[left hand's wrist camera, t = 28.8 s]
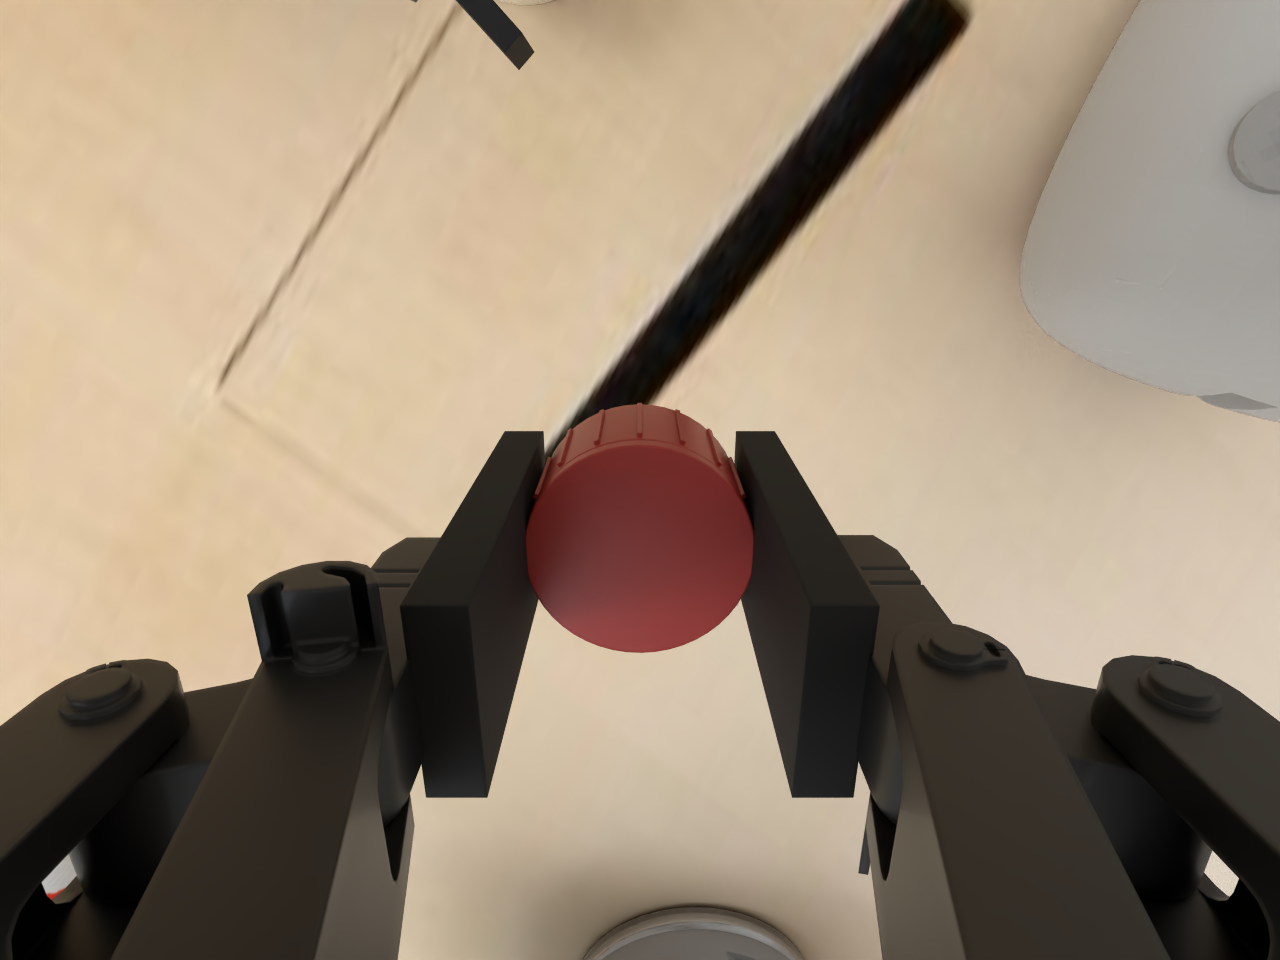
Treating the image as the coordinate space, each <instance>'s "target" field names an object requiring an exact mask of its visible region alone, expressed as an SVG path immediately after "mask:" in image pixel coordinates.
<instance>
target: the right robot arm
mask: <svg viewBox="0 0 1280 960" xmlns="http://www.w3.org/2000/svg"><path fill="white" fill-rule="evenodd" d="M412 1H414V2H417V1H418V0H412ZM456 1H457V2H458V3H459V4H460V5H461V7H462V8H463V9H464V10H465V11H466V12H467V13H468V14H469V15H470V16H471V18H472V19H473V20H474V21H475V22H476V23H477V24H478V25H479V26H480V28H481V29H482V30H483V31H484V32H485V33H486V34H487V35H488V36H489V37H490V39H491V40H492V41H493V42H494V43H495V44H496V45H497V46H498V47H499V49H500V50H501V51H502V52H503V53H504V54H505V55H506V56H507V57H508V58H509V60H510V61H511V62H512V63H513V64H514V65H515V66H516V67H517V68H518V70H520V68H521V67H522V66H523V65H524V64H525V63H526V61H527V60H528V59H529V58H530V57H531V55H532V54H533V53H534V51H533V49H532V48H531V46H530V44H529V43H528V41H527V40H526V38H525V37H524V35H523V34H522V32H521V31H520V30H519V29H518V28H517V27H516V25H515V24H514V23H513V22H512V21H511V20H510V19H509V18H508V16H507V15H506V14H505V13H504V12H503V11H502V10H501V9H500V7H499V6H498V5H497V4H496V3H495V2H494V1H493V0H456Z"/></svg>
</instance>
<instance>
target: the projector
mask: <svg viewBox="0 0 1280 960" xmlns="http://www.w3.org/2000/svg"><path fill="white" fill-rule="evenodd" d="M1020 289H1021V294H1022V298H1023V301H1024V303H1025V306H1026V308H1027V310H1028V312H1029V313H1030V315H1031V316H1032V318H1033V319H1034V321H1035V322H1036V323H1037V325H1038V326H1039V327H1040V328H1041V329H1042V330H1043V331H1044V332H1045V333H1047V334H1048V335H1049V336H1050V337H1052V338H1053V339H1054V340H1055V341H1057V342H1058V343H1060V344H1061V345H1063V346H1064V347H1066V348H1067V349H1069V350H1070V351H1072V352H1074V353H1076V354H1078V355H1079V356H1081V357H1083V358H1085V359H1086V360H1089V361H1091V362H1093V363H1095V364H1097V365H1099V366H1101V367H1103V368H1106V369H1108V370H1110V371H1113V372H1115V373H1117V374H1120V375H1123V376H1125V377H1128V378H1131V379H1133V380H1136V381H1139V382H1142V383H1144V384H1147V385H1150V386H1153V387H1156V388H1159V389H1162V390H1166V391H1169V392H1172V393H1176V394H1181V395H1190V396H1197V397H1198V398H1200V399H1201V400H1203V401H1205V402H1207V403H1209V404H1211V405H1214V406H1217V407H1220V408H1224V409H1227V410H1231V411H1234V412H1238V413H1242V414H1246V415H1250V416H1253V417H1257V418H1261V419H1266V420H1271V421H1276V422H1280V0H1140V2H1139V4H1138V5H1137V7H1136V9H1135V10H1134V12H1133V14H1132V15H1131V17H1130V19H1129V20H1128V22H1127V24H1126V26H1125V27H1124V29H1123V31H1122V33H1121V35H1120V37H1119V38H1118V40H1117V42H1116V44H1115V46H1114V48H1113V49H1112V51H1111V53H1110V55H1109V57H1108V59H1107V60H1106V62H1105V64H1104V66H1103V68H1102V70H1101V71H1100V73H1099V75H1098V77H1097V79H1096V81H1095V83H1094V85H1093V87H1092V89H1091V91H1090V93H1089V94H1088V96H1087V98H1086V100H1085V102H1084V104H1083V106H1082V108H1081V110H1080V112H1079V114H1078V116H1077V118H1076V120H1075V122H1074V124H1073V126H1072V128H1071V130H1070V132H1069V135H1068V137H1067V139H1066V141H1065V143H1064V145H1063V147H1062V149H1061V151H1060V154H1059V156H1058V158H1057V160H1056V162H1055V164H1054V166H1053V169H1052V171H1051V173H1050V176H1049V178H1048V180H1047V183H1046V185H1045V187H1044V190H1043V192H1042V194H1041V197H1040V199H1039V202H1038V205H1037V208H1036V210H1035V213H1034V216H1033V218H1032V221H1031V224H1030V227H1029V230H1028V234H1027V237H1026V241H1025V244H1024V248H1023V252H1022V258H1021V264H1020Z"/></svg>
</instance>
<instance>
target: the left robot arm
mask: <svg viewBox="0 0 1280 960" xmlns="http://www.w3.org/2000/svg"><path fill="white" fill-rule="evenodd" d="M734 465H735V468H736V470H737V473H738V476H739V479H740V481H741V484H742V487H743V490H744V492H745V495H746V498H744V502H745V505H746V508H747V510H748V513H749V516H750V519H751V522H752V525H753V531H754V541H753V558H752V572H751V578H750V581H749V583H748V586H747V588H746V590H745V592H744V594H743V596H742V597H741V601H742V605H743V609H744V612H745V616H746V620H747V624H748V628H749V632H750V636H751V640H752V643H753V647H754V651H755V655H756V659H757V663H758V667H759V671H760V674H761V678H762V682H763V686H764V690H765V694H766V698H767V702H768V706H769V709H770V713H771V717H772V721H773V725H774V729H775V733H776V737H777V740H778V744H779V748H780V752H781V756H782V760H783V764H784V768H785V771H786V775H787V779H788V783H789V787H790V791H791V795H792V798H853V796H854V789H855V782H856V775H857V767H858V761H859V764H860V766H861V769H862V771H863V774H864V776H865V779H866V781H867V784H868V786H869V789H870V798H869V805H868V812H867V818H866V825H865V832H864V838H863V845H862V852H861V858H860V866H859V873H861V874H867V875H868V873H869V867H870V863H871V871H872V879H873V887H874V895H875V903H876V911H877V919H878V927H879V935H880V942H881V950H882V958H883V960H1280V722H1279V721H1278V720H1277V719H1275V718H1274V717H1273V716H1271V715H1270V714H1269V713H1267V712H1266V711H1265V710H1263V709H1262V708H1261V707H1260V706H1258V705H1257V704H1256V703H1254V702H1253V701H1252V700H1250V699H1249V698H1248V697H1246V696H1245V695H1244V694H1242V693H1241V692H1240V691H1238V690H1237V689H1235V688H1233V687H1232V686H1230V685H1228V684H1227V683H1225V682H1223V681H1222V680H1220V679H1219V678H1217V677H1215V676H1213V675H1211V674H1208V673H1206V672H1203V671H1201V670H1198V669H1196V668H1195V667H1193V666H1192V665H1189V664H1187V663H1183V662H1180V661H1176V660H1174V661H1171V659H1167V658H1162V657H1147V656H1134V655H1131V656H1126V657H1120V658H1114V659H1112V660H1111V661H1110V662H1108V663H1107V664H1106V665H1105V666H1104V667H1103V668H1102V672H1101V675H1100V679H1099V682H1098V686H1097V689H1091V688H1086V687H1081V686H1076V685H1070V684H1065V683H1060V682H1054V681H1049V680H1044V679H1040V678H1036V677H1032V676H1028V675H1025V673H1024V671H1023V669H1022V667H1021V665H1020V663H1019V661H1018V659H1017V658H1016V657H1015V656H1014V655H1013V654H1012V652H1011V651H1010V650H1009V649H1008V648H1007V647H1006V646H1005V645H1003V644H1002V643H1000V642H999V641H997V640H995V639H994V638H992V637H991V636H989V635H987V634H985V633H982V632H979V631H977V630H974V629H972V628H969V627H966V626H962V625H956V624H952V622H951V621H950V620H949V618H948V617H947V616H946V614H945V613H944V612H943V610H942V609H941V608H940V606H939V605H938V604H937V602H936V601H935V600H934V598H933V597H932V596H931V594H930V593H929V592H928V590H927V589H926V588H925V586H924V585H921V581H920V580H919V578H918V577H917V576H916V574H915V573H914V572H913V570H910V566H909V565H908V564H907V562H906V561H905V560H904V558H903V557H902V556H901V554H900V553H899V552H898V550H897V549H895V548H893V547H892V546H890V545H888V544H887V543H885V542H883V541H882V540H880V539H878V538H877V537H875V536H874V535H837V534H836V532H835V531H834V529H833V527H832V526H831V524H830V522H829V521H828V519H827V517H826V516H825V514H824V512H823V511H822V509H821V507H820V506H819V504H818V502H817V501H816V499H815V497H814V496H813V494H812V493H811V491H810V489H809V488H808V486H807V484H806V483H805V481H804V479H803V478H802V476H801V474H800V473H799V471H798V469H797V468H796V466H795V464H794V463H793V461H792V459H791V458H790V456H789V454H788V453H787V451H786V449H785V448H784V446H783V444H782V443H781V441H780V439H779V438H778V436H777V434H776V433H775V431H736V444H735V464H734ZM544 466H545V453H544V433H543V431H505V432H504V434H503V435H502V437H501V439H500V440H499V442H498V444H497V445H496V447H495V449H494V450H493V452H492V453H491V455H490V457H489V458H488V460H487V462H486V463H485V465H484V467H483V468H482V470H481V472H480V473H479V475H478V477H477V478H476V480H475V482H474V483H473V485H472V487H471V488H470V490H469V492H468V493H467V495H466V497H465V498H464V500H463V502H462V503H461V505H460V507H459V508H458V510H457V512H456V513H455V515H454V517H453V518H452V520H451V522H450V523H449V525H448V527H447V528H446V530H445V532H444V533H443V535H442V537H441V538H405V539H404V540H402V541H400V542H399V543H397V544H395V545H394V546H392V547H391V548H389V549H387V550H386V551H384V552H383V553H382V554H381V555H380V557H379V558H378V559H377V561H376V562H375V563H374V565H373V566H372V567H371V568H370V567H368V566H367V565H364V564H359V563H355V562H351V561H324V562H318V563H312V564H306V565H301V566H298V567H295V568H292V569H289V570H286V571H282V572H279V573H277V574H275V575H274V576H272V577H270V578H268V579H266V580H264V581H262V582H261V583H259V584H258V585H257V586H256V587H255V588H254V589H253V590H252V591H251V592H250V593H249V594H248V595H247V597H248V601H249V606H250V610H251V615H252V619H253V623H254V628H255V632H256V637H257V641H258V646H259V650H260V654H261V659H262V662H261V664H260V666H259V668H258V670H257V672H256V674H255V676H254V678H253V679H249V680H245V681H241V682H237V683H232V684H227V685H221V686H216V687H211V688H206V689H200V690H195V691H190V692H185V693H184V692H183V688H182V685H181V681H180V677H179V674H178V671H177V670H176V669H175V668H174V667H173V666H171V665H170V664H169V663H168V662H164V661H158V660H152V659H139V660H121V661H116V662H110V663H109V664H108V665H106V664H103V665H99V666H96V667H93V668H90V669H88V670H87V671H86V672H83V673H81V674H79V675H76V676H74V677H71V678H69V679H67V680H65V681H63V682H61V683H60V684H58V685H56V686H55V687H53V688H52V689H50V690H48V691H47V692H45V693H43V694H42V695H40V696H39V697H38V698H36V699H35V700H34V701H33V702H31V703H30V704H29V705H27V706H26V707H25V708H23V709H22V710H21V711H19V712H18V713H17V714H16V715H14V716H13V717H12V718H10V719H9V720H8V721H6V722H5V723H4V724H3V725H1V726H0V960H398V952H399V944H400V936H401V928H402V920H403V912H404V905H405V897H406V889H407V881H408V873H409V865H410V857H411V849H412V841H413V833H414V819H413V812H412V805H411V798H410V792H411V789H412V786H413V784H414V781H415V779H416V776H417V774H418V771H419V769H420V766H421V764H422V771H423V778H424V785H425V793H426V798H487V797H488V793H489V789H490V785H491V781H492V777H493V773H494V770H495V766H496V762H497V758H498V754H499V750H500V746H501V742H502V739H503V735H504V731H505V727H506V723H507V719H508V715H509V711H510V708H511V704H512V700H513V696H514V692H515V688H516V684H517V680H518V677H519V673H520V669H521V665H522V661H523V657H524V653H525V649H526V646H527V642H528V638H529V634H530V630H531V626H532V622H533V618H534V615H535V611H536V607H537V603H538V597H537V595H536V594H535V591H534V589H533V587H532V585H531V583H530V580H529V576H528V565H527V549H526V527H527V524H528V520H529V517H530V514H531V511H532V508H533V505H534V503H535V500H536V499H535V498H533V496H534V493H535V490H536V488H537V485H538V482H539V480H540V477H541V474H542V472H543V469H544ZM1212 850H1213V851H1214V852H1215V853H1216V854H1217V855H1218V857H1219V858H1220V859H1221V860H1222V861H1223V862H1224V863H1225V864H1226V865H1227V866H1228V867H1229V868H1230V869H1231V870H1232V871H1233V872H1234V873H1235V874H1236V876H1237V877H1238V878H1239V880H1238V883H1237V885H1236V888H1235V890H1234V893H1233V894H1232V895H1231V896H1230V897H1229V896H1227V895H1226V894H1225V893H1224V892H1222V891H1221V890H1220V889H1219V888H1218V887H1217V886H1216V885H1215V884H1214V883H1213V882H1212V881H1211V880H1210V879H1209V878H1208V877H1207V875H1206V874H1205V873H1204V871H1205V868H1206V865H1207V863H1208V860H1209V858H1210V855H1211V852H1212ZM68 854H69V857H70V859H71V862H72V865H73V867H74V870H75V872H76V875H77V876H76V877H75V878H74V879H73V880H72V881H71V882H70V884H69V885H68V886H67V887H66V888H65V889H64V890H63V891H62V892H60V893H59V894H58V895H56V896H55V897H54V898H53V899H50V898H49V897H48V896H47V894H46V892H45V889H44V887H43V884H42V882H43V881H44V879H45V878H46V877H47V876H48V875H49V874H50V873H51V872H52V871H53V870H54V869H55V868H56V867H57V866H58V865H59V864H60V862H61V861H62V860H63V859H64V858H65V857H66V856H67V855H68ZM583 960H804V959H803V957H802V955H801V954H800V952H799V951H798V949H797V948H796V947H795V946H794V945H793V943H792V942H791V941H790V940H789V939H788V938H786V937H785V936H784V935H783V934H782V933H780V932H779V931H778V930H776V929H775V928H773V927H771V926H770V925H768V924H766V923H764V922H762V921H760V920H758V919H756V918H753V917H750V916H748V915H745V914H741V913H738V912H734V911H729V910H725V909H718V908H707V907H684V908H673V909H667V910H661V911H657V912H652V913H649V914H646V915H643V916H640V917H637V918H635V919H632V920H630V921H628V922H626V923H624V924H622V925H620V926H618V927H616V928H615V929H613V930H611V931H610V932H609V933H607V934H606V935H604V936H603V937H602V938H601V939H600V940H599V941H598V942H596V943H595V944H594V946H593V947H592V948H591V949H590V950H589V951H588V953H587V954H586V955H585V957H584V958H583Z"/></svg>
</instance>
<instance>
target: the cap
mask: <svg viewBox="0 0 1280 960" xmlns="http://www.w3.org/2000/svg"><path fill="white" fill-rule="evenodd" d="M533 498H535V499H536V500H535V503H534V505H533V508H532V511H531V514H530V517H529V520H528V524H527V527H526V549H527V565H528V576H529V580H530V583H531V585H532V587H533V589H534V591H535V594H536V595H537V597H538V599H539V600H540V602H541V603H542V605H543V606H544V608H545V609H546V610H547V611H548V612H549V613H550V615H551V616H552V617H553V618H554V619H555V620H556V621H557V622H559V623H560V624H561V625H562V626H563V627H564V628H566V629H567V630H569V631H570V632H572V633H573V634H574V635H576V636H578V637H580V638H582V639H584V640H586V641H588V642H590V643H593V644H595V645H598V646H601V647H604V648H608V649H612V650H617V651H623V652H637V653H644V652H657V651H662V650H668V649H672V648H675V647H678V646H682V645H684V644H687V643H689V642H691V641H694V640H696V639H698V638H699V637H701V636H703V635H705V634H706V633H708V632H709V631H711V630H712V629H713V628H715V627H716V626H717V625H719V624H720V623H721V622H722V621H723V620H724V619H725V618H726V617H727V616H728V615H729V614H730V613H731V612H732V610H733V609H734V608H735V607H736V605H737V604H738V602H739V601H740V599H741V597H742V596H743V594H744V592H745V590H746V588H747V586H748V583H749V581H750V578H751V572H752V558H753V541H754V531H753V525H752V522H751V519H750V516H749V513H748V510H747V508H746V505H745V502H744V498H746V495H745V492H744V490H743V487H742V484H741V481H740V479H739V476H738V473H737V470H736V468H735V465H734V462H733V460H732V458H731V457H730V458H728V456H727V454H726V452H725V451H724V449H723V448H722V446H721V445H720V443H719V442H718V441H717V440H716V438H715V437H714V436H713V434H712V431H711V430H710V429H709V428H708V429H705V428H704V427H703V426H702V425H701V424H699V423H698V422H696V421H695V420H693V419H691V418H690V417H688V416H686V415H684V414H682V413H680V411H679V410H677V409H676V410H675V411H674V410H671V409H668V408H665V407H659V406H653V405H642V403H637V405H626V406H620V407H616V408H611V409H608V410H605V411H604V409H603V410H600V411H599V413H598V414H596V415H594V416H592V417H590V418H588V419H586V420H585V421H583V422H582V423H580V424H579V425H577V426H576V427H575V428H574V429H573V430H572V429H571V428H570V429H569V430H568V432H567V435H566V437H565V438H564V439H563V440H562V441H561V443H560V444H559V445H558V447H557V448H556V450H555V452H554V453H553V455H552V457H551V458H550V457H548V458H547V461H546V463H545V466H544V469H543V472H542V474H541V477H540V480H539V482H538V485H537V488H536V490H535V493H534V496H533Z"/></svg>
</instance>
